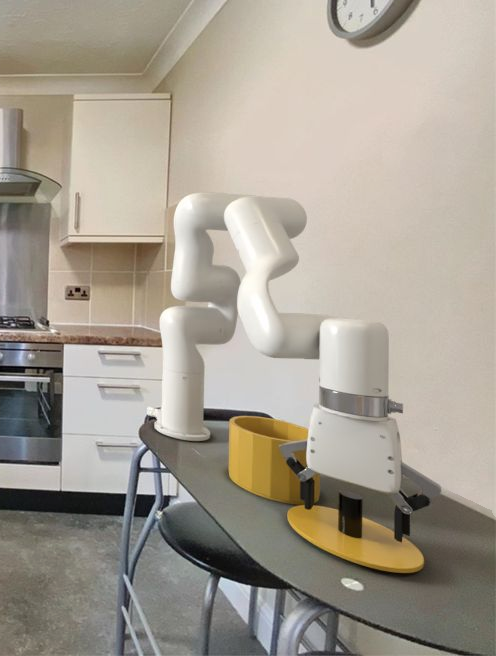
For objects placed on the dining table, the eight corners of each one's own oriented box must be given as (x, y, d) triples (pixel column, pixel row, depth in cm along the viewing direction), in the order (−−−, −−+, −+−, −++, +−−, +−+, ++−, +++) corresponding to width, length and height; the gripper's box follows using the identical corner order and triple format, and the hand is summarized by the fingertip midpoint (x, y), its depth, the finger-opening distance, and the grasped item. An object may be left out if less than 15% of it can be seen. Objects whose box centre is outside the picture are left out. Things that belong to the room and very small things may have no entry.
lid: (276, 535, 59) (277, 489, 59) (298, 502, 69) (299, 463, 69) (423, 596, 48) (423, 539, 48) (424, 546, 58) (425, 499, 58)
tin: (218, 481, 75) (219, 425, 76) (241, 461, 84) (242, 411, 85) (310, 514, 65) (311, 449, 65) (325, 488, 74) (326, 431, 74)
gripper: (441, 413, 55) (441, 540, 54) (286, 386, 68) (285, 489, 67) (441, 425, 50) (441, 565, 49) (274, 393, 63) (273, 504, 62)
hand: (351, 521), depth 58 cm, fingers open, 9 cm apart
